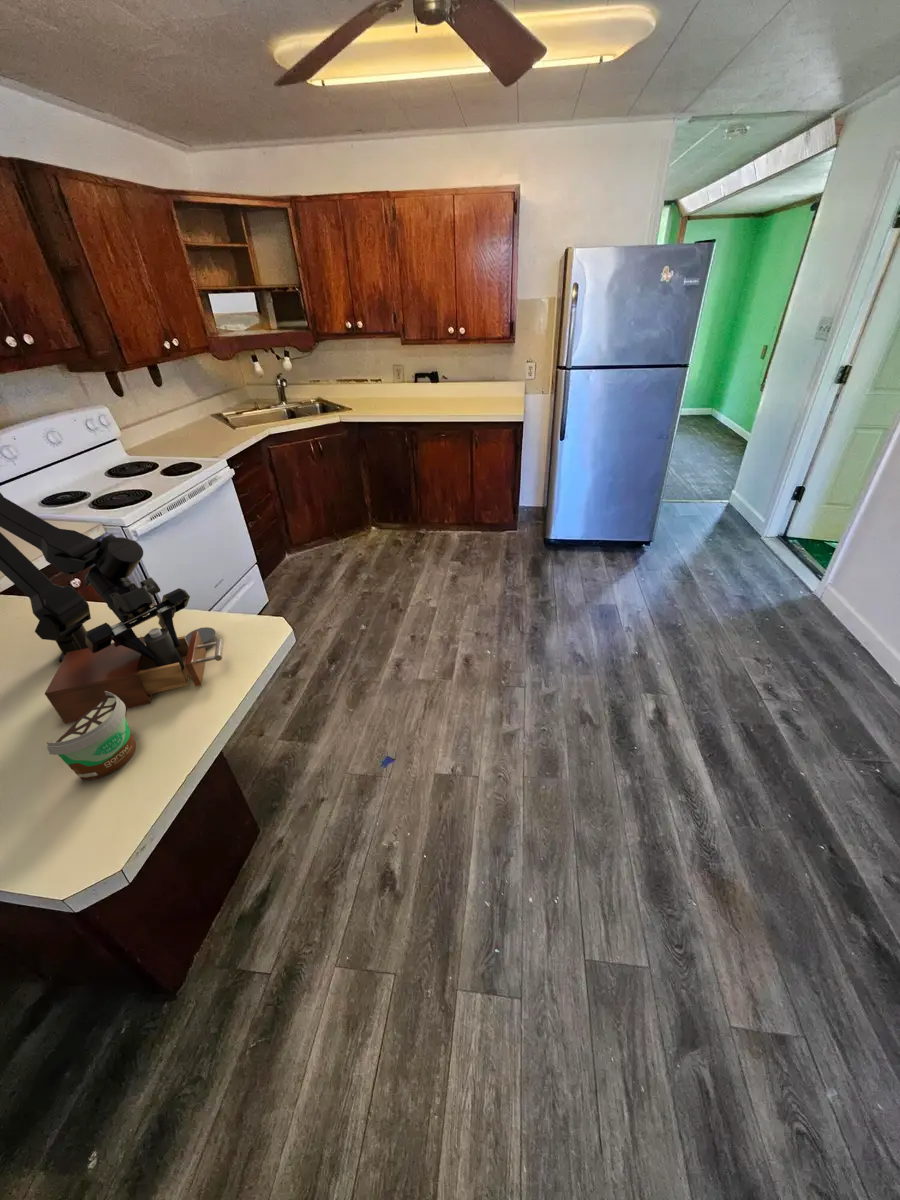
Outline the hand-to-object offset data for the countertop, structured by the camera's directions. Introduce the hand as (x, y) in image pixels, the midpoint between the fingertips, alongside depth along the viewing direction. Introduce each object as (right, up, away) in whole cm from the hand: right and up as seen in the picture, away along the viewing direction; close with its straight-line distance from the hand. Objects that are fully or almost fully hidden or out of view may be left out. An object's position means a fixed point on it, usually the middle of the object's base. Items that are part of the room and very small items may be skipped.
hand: (167, 653), depth 95 cm
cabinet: (-11, -8, +2) cm, 14 cm away
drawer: (0, -5, +4) cm, 6 cm away
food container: (-1, -17, -13) cm, 21 cm away
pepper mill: (-1, -4, +3) cm, 5 cm away
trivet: (0, +1, +14) cm, 14 cm away
